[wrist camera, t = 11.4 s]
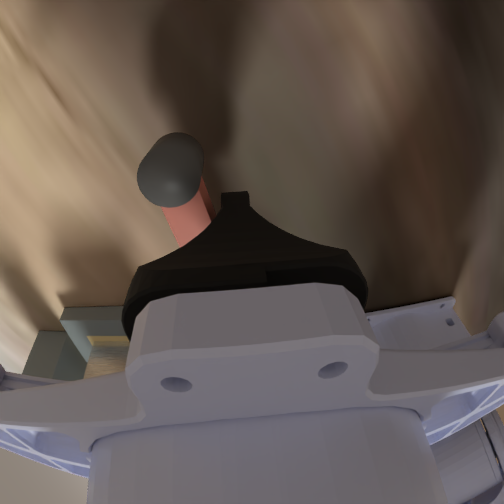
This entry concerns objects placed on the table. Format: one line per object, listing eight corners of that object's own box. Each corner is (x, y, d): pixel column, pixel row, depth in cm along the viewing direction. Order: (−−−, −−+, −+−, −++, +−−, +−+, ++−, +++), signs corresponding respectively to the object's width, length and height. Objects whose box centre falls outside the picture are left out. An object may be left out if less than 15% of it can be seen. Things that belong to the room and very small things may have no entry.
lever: (210, 119, 10) (207, 132, 8) (286, 351, 18) (292, 381, 16) (128, 148, 10) (110, 169, 8) (236, 363, 18) (238, 393, 16)
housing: (162, 340, 18) (153, 428, 13) (180, 380, 21) (177, 454, 16) (93, 341, 18) (73, 420, 13) (119, 380, 20) (109, 449, 16)
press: (283, 288, 18) (318, 432, 10) (278, 373, 23) (297, 475, 16) (21, 302, 17) (-25, 407, 9) (73, 377, 22) (54, 464, 15)
